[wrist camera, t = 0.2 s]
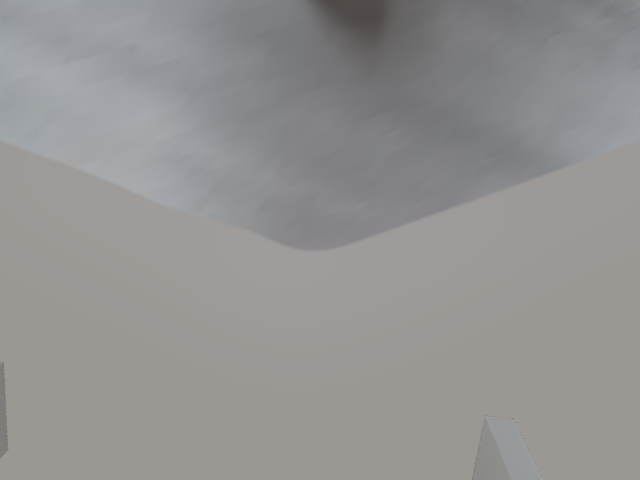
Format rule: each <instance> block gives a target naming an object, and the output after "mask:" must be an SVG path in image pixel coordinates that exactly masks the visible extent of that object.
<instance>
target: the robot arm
mask: <svg viewBox="0 0 640 480" xmlns="http://www.w3.org/2000/svg"><path fill="white" fill-rule="evenodd" d="M7 437H8V436H7V417H6V398H5V378H4V362H0V458H1V457H2V456H3V455H4V454H5V453H6V452H7V450H8V439H7ZM472 480H544V479H543V478H542V475H541V473H540V471H539V469H538V467H537V466H536V463H535V461H534V459H533V457H532V455H531V454H530V451H529V449H528V447H527V445H526V443H525V441H524V439H523V437H522V435H521V433H520V431H519V429H518V427H517V425H516V423H515V421H514V419H512V418H503V417H494V416H485V417H484V422H483V427H482V433H481V437H480V443H479V448H478V453H477V458H476V463H475V468H474V473H473V478H472Z"/></svg>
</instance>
